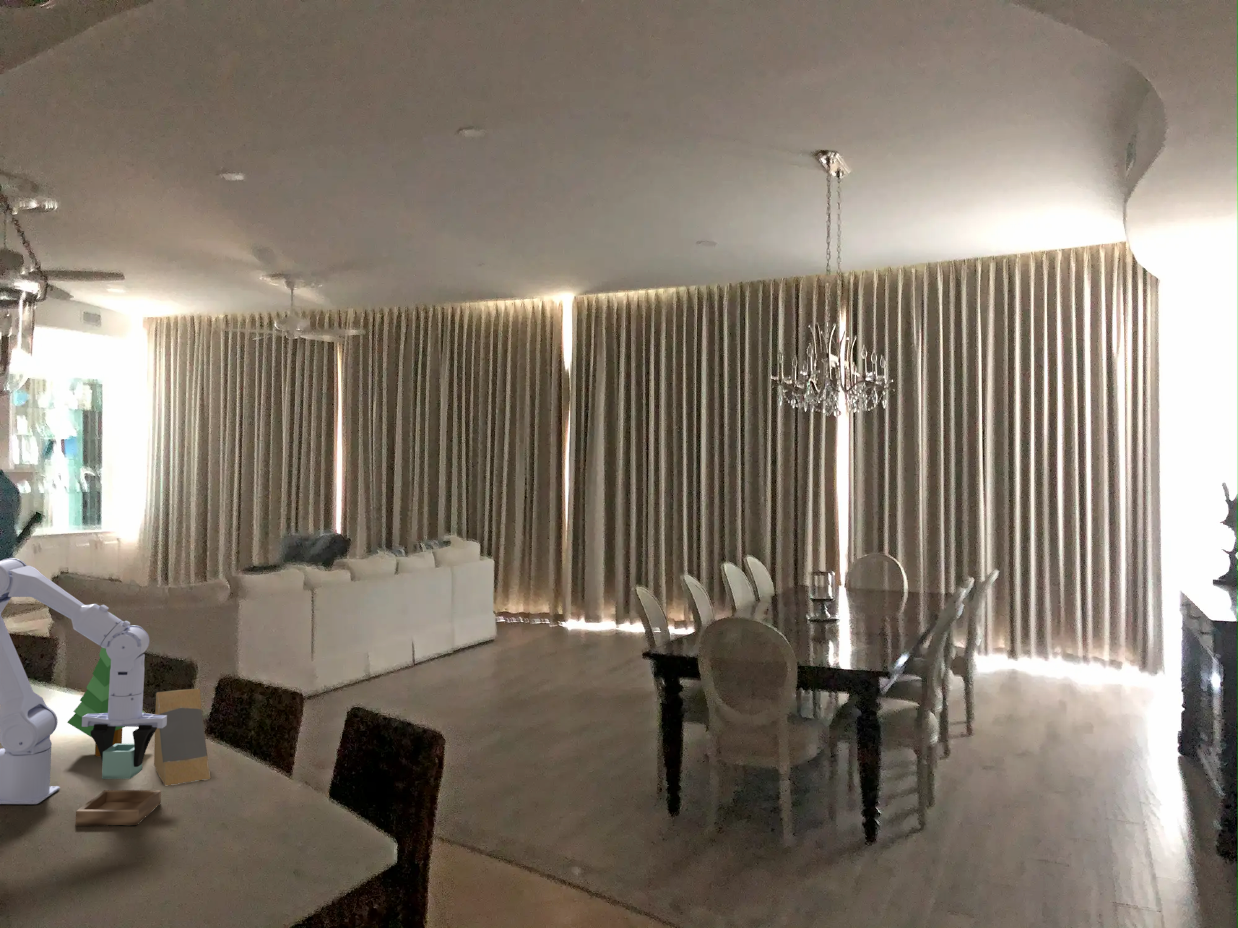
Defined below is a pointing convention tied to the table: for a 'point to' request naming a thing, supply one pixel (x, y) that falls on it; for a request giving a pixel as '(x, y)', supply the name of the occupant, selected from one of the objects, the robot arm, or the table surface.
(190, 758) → the sandwich container
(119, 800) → the walnut crate
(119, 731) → the decorative tree
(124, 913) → the table surface
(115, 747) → the box
